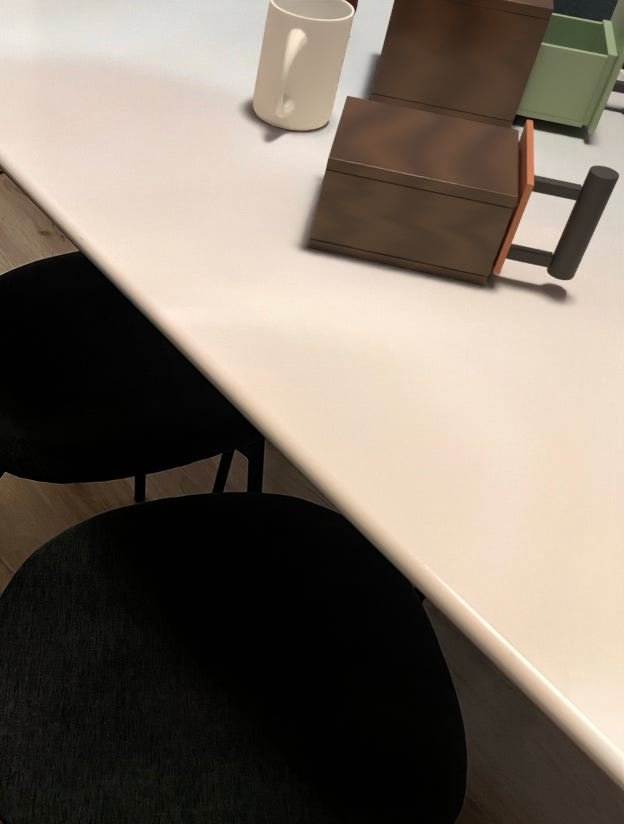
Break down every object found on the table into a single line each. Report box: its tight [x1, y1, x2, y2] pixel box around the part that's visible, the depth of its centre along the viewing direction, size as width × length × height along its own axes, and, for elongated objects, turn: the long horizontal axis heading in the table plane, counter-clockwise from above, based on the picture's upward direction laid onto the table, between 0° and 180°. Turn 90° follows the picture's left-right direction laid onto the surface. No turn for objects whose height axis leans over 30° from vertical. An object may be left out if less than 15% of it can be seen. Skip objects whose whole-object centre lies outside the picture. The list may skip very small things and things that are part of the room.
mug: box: [252, 0, 356, 132], centre depth 105 cm, size 9×12×11 cm
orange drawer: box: [492, 119, 620, 281], centre depth 91 cm, size 22×14×9 cm, turn 76°
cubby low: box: [307, 95, 520, 286], centre depth 92 cm, size 16×14×8 cm
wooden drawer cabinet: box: [368, 0, 554, 129], centre depth 114 cm, size 16×14×12 cm
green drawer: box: [516, 0, 624, 135], centre depth 112 cm, size 22×14×11 cm, turn 76°
